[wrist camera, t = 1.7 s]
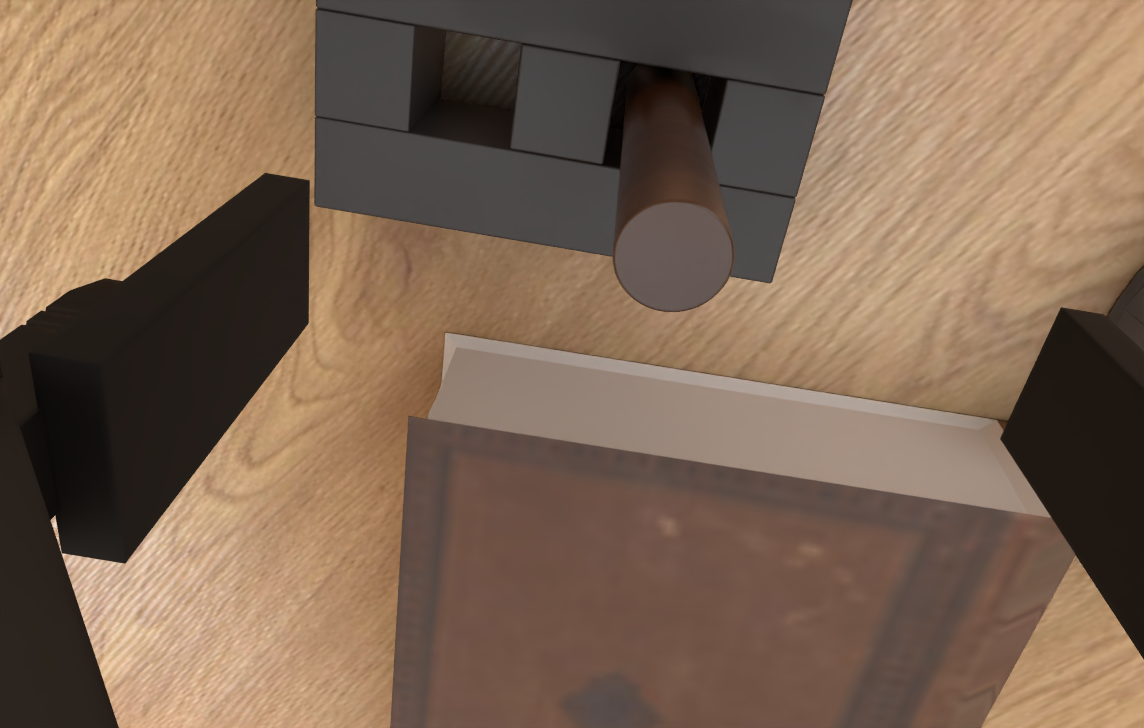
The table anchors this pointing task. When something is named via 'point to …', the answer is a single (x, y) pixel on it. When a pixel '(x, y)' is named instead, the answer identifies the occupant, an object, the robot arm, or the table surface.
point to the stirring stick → (669, 197)
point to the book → (705, 553)
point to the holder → (564, 112)
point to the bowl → (1131, 310)
